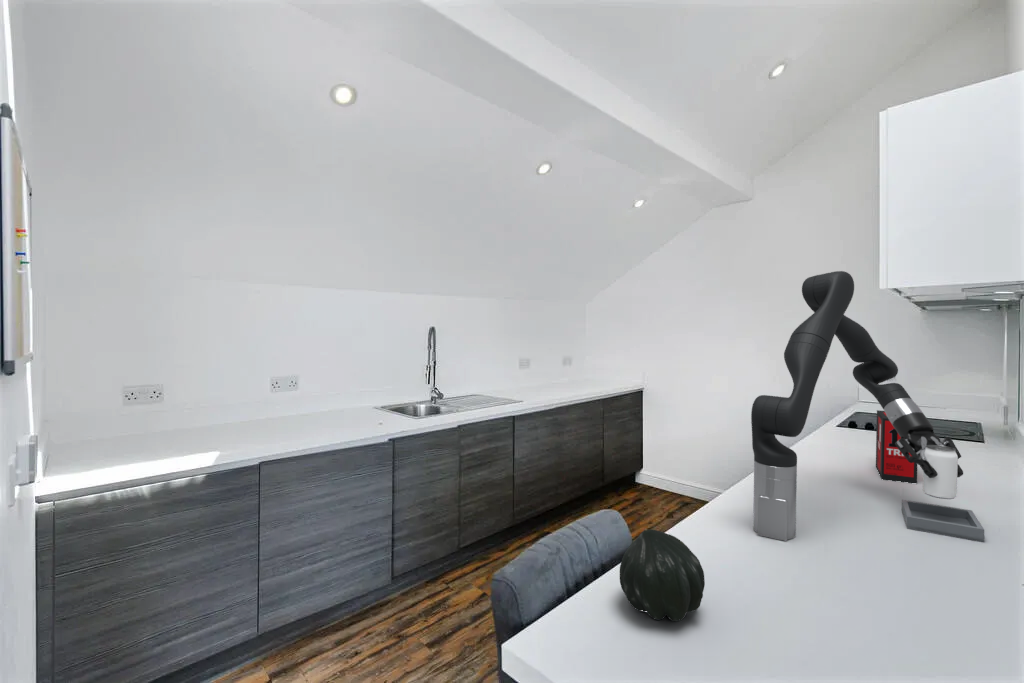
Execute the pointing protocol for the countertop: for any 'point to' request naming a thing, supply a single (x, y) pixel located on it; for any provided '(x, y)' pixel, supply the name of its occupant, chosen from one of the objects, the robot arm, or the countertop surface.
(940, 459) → the can
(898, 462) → the cleaning product box
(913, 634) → the countertop surface
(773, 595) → the countertop surface
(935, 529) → the tray
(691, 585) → the squash
